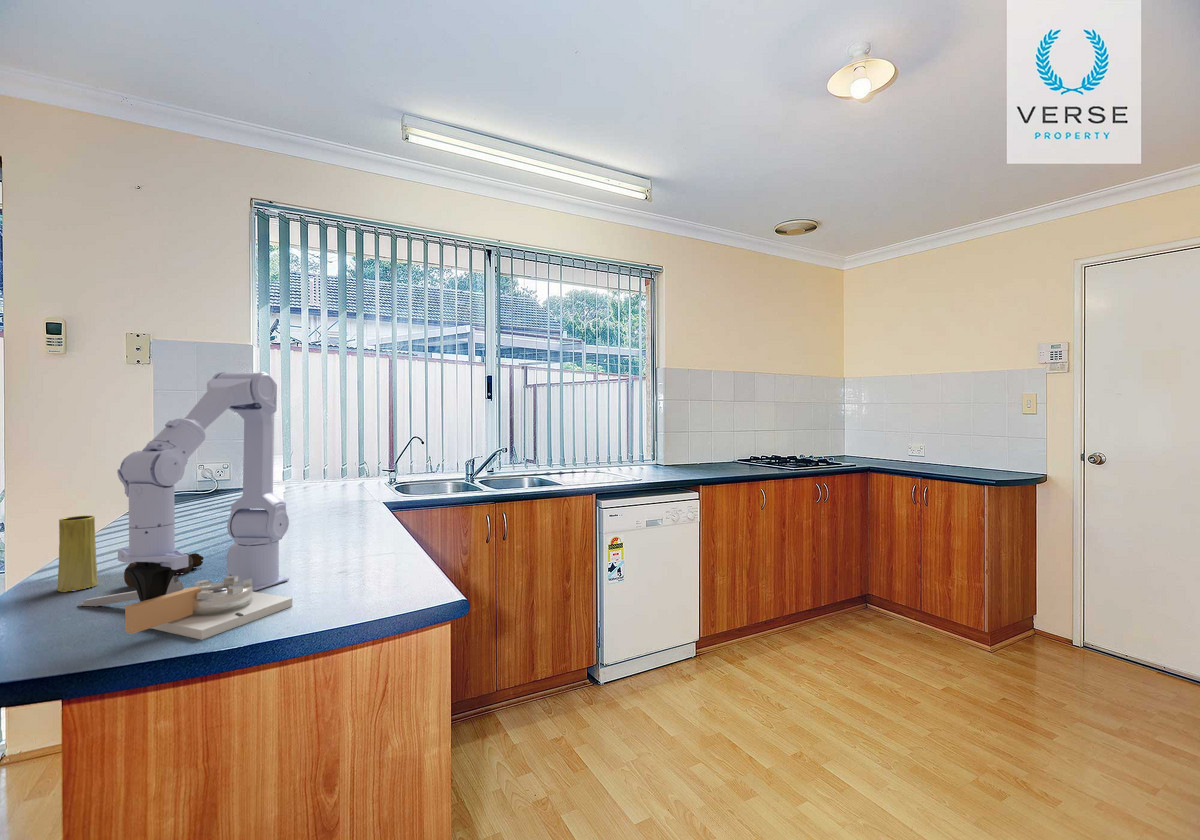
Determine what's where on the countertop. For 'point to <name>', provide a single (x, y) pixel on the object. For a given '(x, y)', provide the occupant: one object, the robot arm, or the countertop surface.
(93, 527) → the vase
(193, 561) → the bolt
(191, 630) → the cap plate
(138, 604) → the ring clamp with plank
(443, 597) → the countertop surface
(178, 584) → the caliper
